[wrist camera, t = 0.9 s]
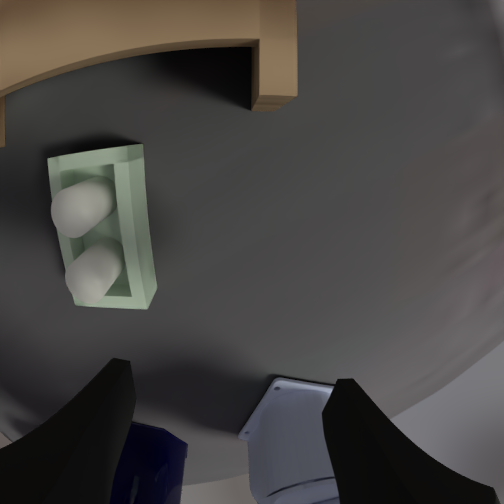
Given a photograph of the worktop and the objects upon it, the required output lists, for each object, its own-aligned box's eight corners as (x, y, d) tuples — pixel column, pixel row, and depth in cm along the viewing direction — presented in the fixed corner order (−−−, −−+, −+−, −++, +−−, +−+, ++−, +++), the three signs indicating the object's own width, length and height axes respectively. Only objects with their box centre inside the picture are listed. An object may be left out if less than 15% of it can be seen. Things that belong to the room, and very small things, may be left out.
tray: (157, 288, 18) (138, 329, 14) (90, 286, 18) (61, 323, 14) (143, 143, 15) (110, 148, 11) (69, 153, 15) (26, 163, 11)
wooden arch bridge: (273, 111, 15) (297, 96, 8) (-5, 149, 14) (-72, 167, 8) (272, -24, 11) (289, -90, 5) (1, 37, 11) (-59, 26, 4)
